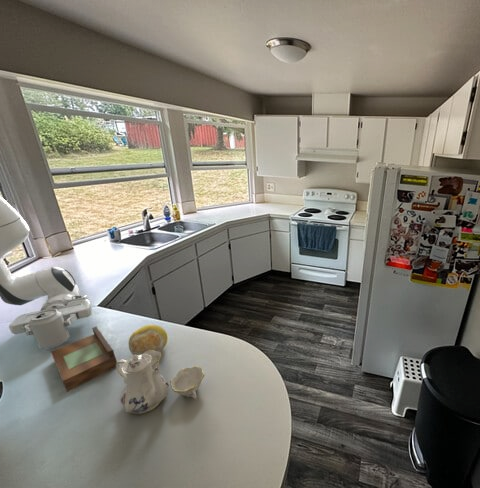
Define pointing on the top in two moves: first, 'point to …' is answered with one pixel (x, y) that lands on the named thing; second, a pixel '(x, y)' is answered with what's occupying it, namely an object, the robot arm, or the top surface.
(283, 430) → the top surface
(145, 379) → the chinaware
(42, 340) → the can
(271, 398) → the top surface
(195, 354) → the top surface
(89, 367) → the wooden box
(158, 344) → the fruit
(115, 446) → the top surface
